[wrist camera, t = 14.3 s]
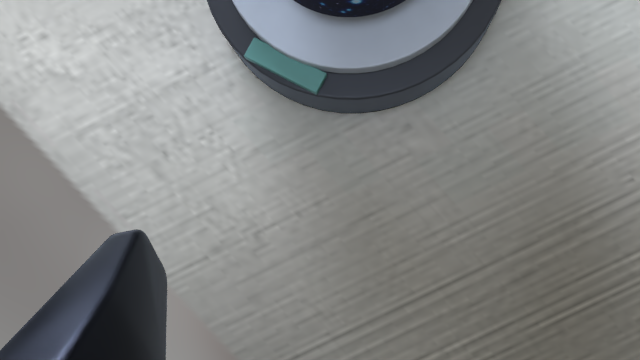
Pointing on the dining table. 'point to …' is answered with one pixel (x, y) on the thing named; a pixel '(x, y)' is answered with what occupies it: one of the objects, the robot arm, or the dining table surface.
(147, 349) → the robot arm
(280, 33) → the kitchen scale
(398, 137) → the dining table surface
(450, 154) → the dining table surface
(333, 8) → the beverage can
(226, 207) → the dining table surface
